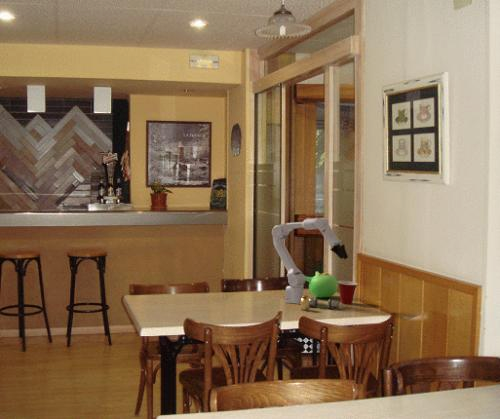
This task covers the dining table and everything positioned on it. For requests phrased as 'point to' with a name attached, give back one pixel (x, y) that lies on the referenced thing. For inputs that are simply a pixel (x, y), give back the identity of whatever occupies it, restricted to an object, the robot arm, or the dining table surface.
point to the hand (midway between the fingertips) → (344, 258)
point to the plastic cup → (347, 291)
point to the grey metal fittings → (331, 304)
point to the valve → (304, 303)
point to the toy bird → (322, 285)
